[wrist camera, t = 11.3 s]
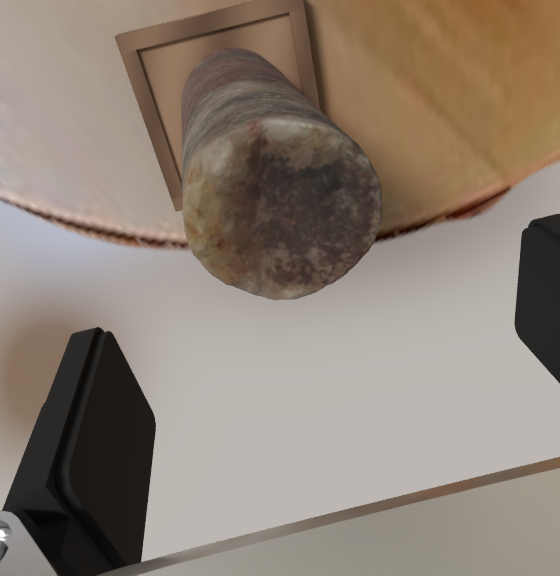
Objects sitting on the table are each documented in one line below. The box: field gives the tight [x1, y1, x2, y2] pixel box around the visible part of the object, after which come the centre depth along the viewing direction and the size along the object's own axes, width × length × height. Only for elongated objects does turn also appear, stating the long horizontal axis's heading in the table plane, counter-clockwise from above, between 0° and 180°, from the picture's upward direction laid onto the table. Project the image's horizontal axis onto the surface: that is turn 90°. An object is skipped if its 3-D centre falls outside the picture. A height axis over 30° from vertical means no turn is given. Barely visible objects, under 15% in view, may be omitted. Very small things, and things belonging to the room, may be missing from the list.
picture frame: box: [115, 0, 320, 211], centre depth 34 cm, size 12×12×2 cm
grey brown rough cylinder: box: [181, 48, 382, 300], centre depth 25 cm, size 8×7×20 cm
